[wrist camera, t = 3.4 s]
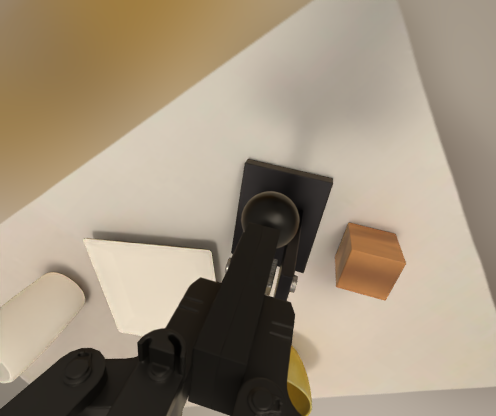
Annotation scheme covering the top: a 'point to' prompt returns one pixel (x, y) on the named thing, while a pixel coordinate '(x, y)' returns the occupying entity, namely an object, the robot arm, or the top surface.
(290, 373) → the yellow bowl
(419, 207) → the top surface
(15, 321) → the cup
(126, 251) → the plate
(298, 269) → the black lever base
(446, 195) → the top surface
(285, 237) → the lever
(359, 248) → the brown wooden cube
